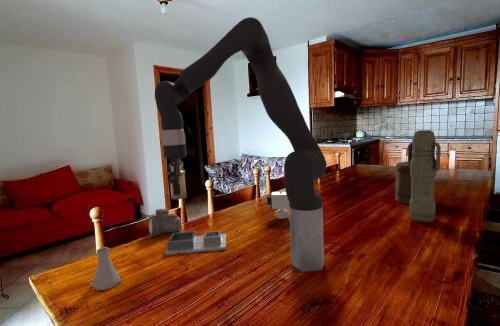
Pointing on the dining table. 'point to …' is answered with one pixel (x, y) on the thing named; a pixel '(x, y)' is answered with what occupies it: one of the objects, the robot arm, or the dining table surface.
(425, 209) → the thermos
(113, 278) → the flask
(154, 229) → the pipe fitting
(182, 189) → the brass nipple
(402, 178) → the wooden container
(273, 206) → the pneumatic valve
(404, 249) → the dining table surface
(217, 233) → the plate
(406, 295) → the dining table surface
